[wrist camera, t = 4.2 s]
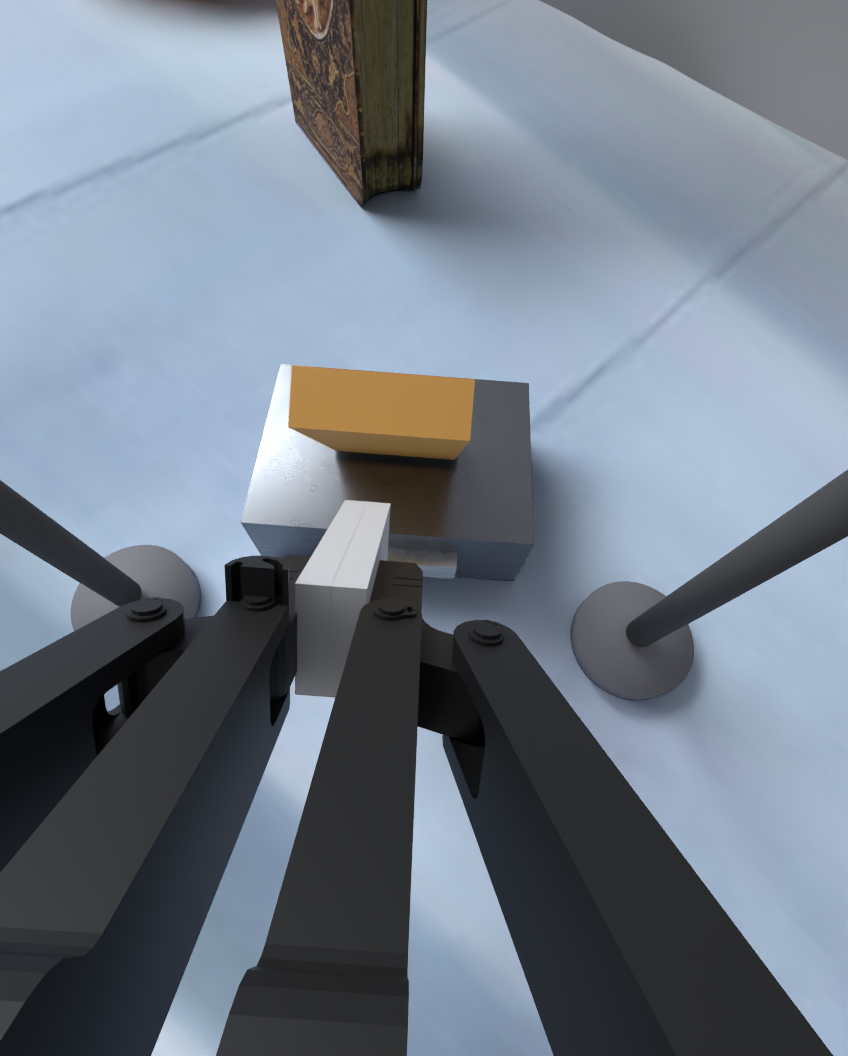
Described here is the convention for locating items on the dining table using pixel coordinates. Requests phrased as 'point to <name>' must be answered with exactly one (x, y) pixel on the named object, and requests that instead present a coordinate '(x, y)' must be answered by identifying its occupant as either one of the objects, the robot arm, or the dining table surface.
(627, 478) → the dining table surface
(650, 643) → the stand
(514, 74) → the dining table surface
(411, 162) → the book
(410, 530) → the block
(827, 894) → the dining table surface
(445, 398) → the orange rectangular prism
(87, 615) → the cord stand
